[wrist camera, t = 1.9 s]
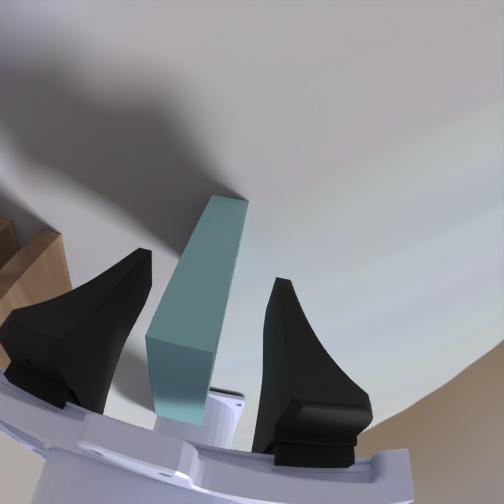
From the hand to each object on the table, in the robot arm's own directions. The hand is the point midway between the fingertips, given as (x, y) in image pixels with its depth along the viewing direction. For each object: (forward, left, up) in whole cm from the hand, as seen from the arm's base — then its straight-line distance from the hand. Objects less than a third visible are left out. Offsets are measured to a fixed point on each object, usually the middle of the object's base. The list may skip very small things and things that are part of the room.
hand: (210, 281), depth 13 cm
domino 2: (-4, +12, -3) cm, 13 cm away
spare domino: (0, 0, -3) cm, 3 cm away
